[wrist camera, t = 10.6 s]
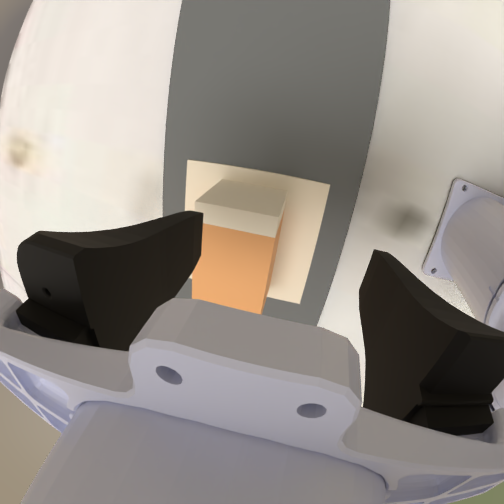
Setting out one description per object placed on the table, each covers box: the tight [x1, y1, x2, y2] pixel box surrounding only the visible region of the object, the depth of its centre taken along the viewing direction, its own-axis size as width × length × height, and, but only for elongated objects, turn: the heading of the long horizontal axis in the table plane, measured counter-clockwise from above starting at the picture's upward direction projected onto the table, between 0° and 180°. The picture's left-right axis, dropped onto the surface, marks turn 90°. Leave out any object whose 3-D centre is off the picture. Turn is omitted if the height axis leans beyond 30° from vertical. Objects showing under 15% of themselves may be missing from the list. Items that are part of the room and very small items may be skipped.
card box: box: [192, 179, 288, 315], centre depth 19 cm, size 8×5×5 cm, turn 172°
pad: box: [185, 159, 330, 304], centre depth 22 cm, size 10×10×1 cm
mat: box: [163, 0, 390, 326], centre depth 18 cm, size 14×32×1 cm, turn 172°
